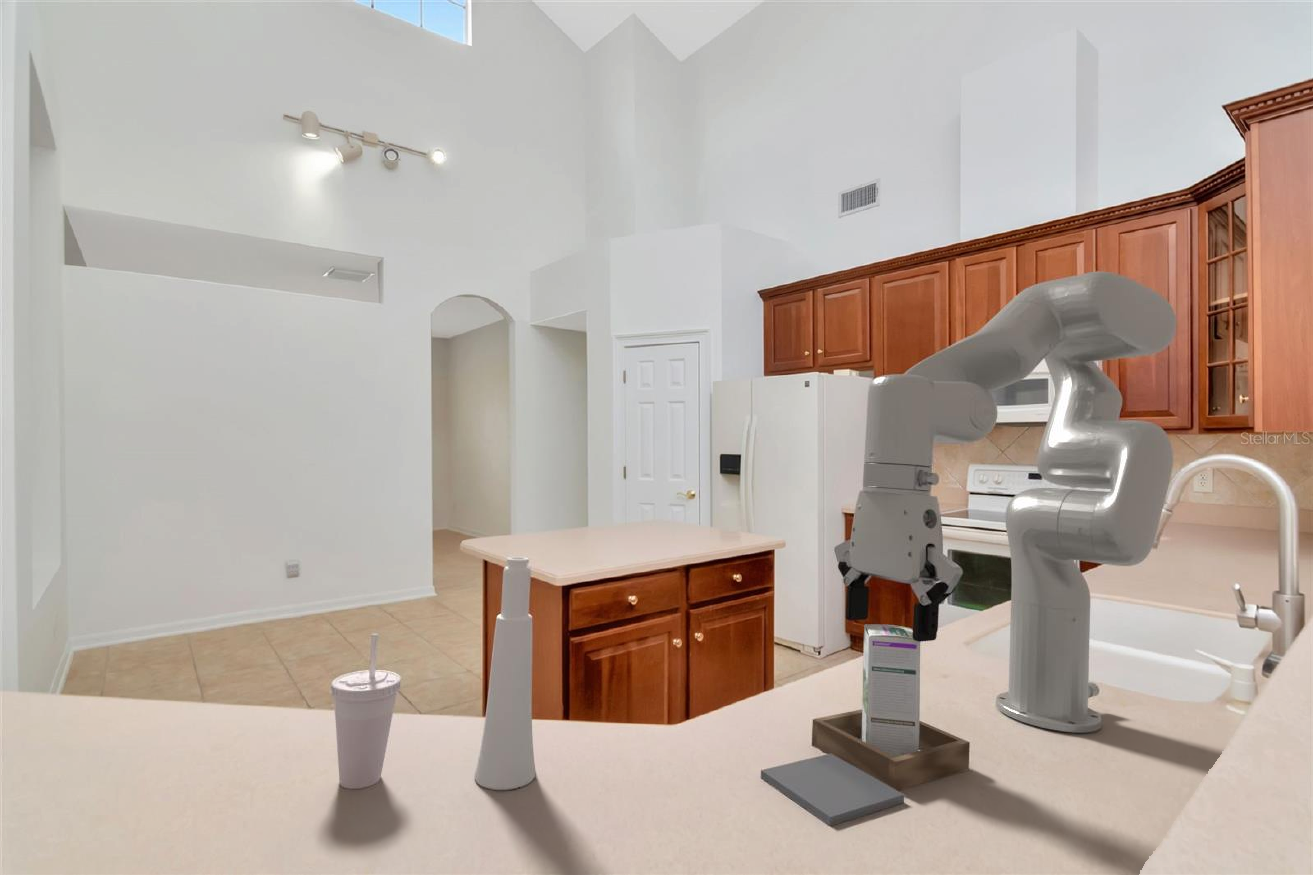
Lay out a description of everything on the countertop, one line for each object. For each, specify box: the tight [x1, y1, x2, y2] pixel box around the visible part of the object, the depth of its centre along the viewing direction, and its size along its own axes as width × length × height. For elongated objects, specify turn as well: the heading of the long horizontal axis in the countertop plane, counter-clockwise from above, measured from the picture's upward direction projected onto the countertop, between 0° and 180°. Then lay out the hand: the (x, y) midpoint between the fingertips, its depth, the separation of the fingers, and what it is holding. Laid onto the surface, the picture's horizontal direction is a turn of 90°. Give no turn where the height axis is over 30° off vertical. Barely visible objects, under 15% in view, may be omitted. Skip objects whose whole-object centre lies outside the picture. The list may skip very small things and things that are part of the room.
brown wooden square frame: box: [811, 708, 971, 792], centre depth 76 cm, size 12×12×3 cm
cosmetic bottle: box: [474, 556, 537, 791], centre depth 67 cm, size 6×6×22 cm
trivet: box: [760, 753, 905, 827], centre depth 67 cm, size 10×10×1 cm
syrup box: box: [861, 623, 921, 757], centre depth 76 cm, size 6×6×14 cm
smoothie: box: [329, 633, 402, 790], centre depth 65 cm, size 6×6×14 cm
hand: (888, 629), depth 76 cm, fingers open, 9 cm apart
